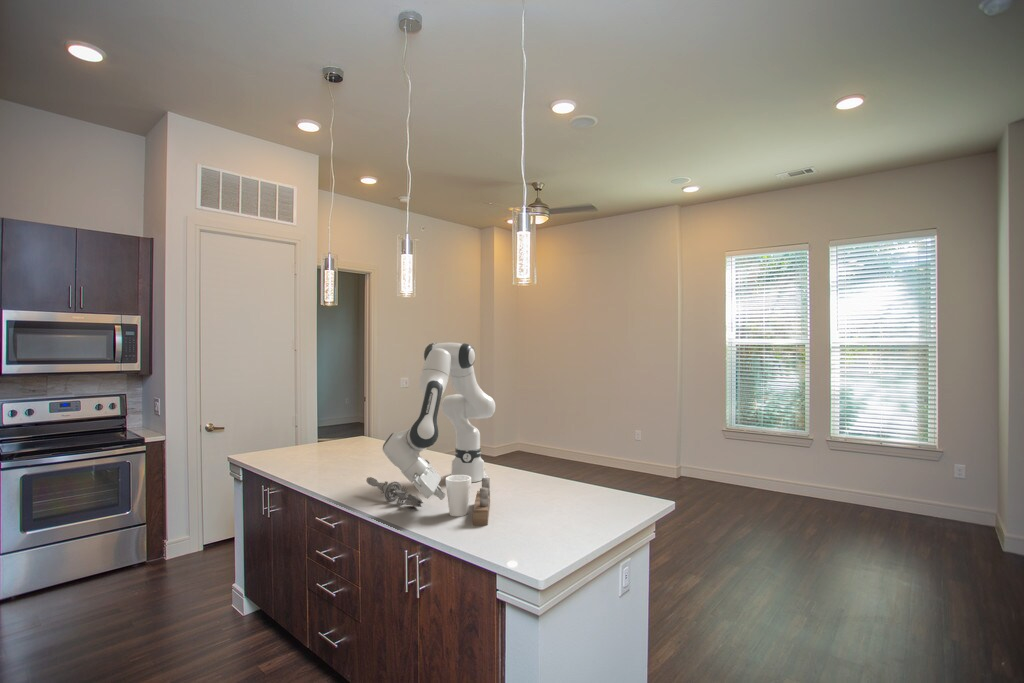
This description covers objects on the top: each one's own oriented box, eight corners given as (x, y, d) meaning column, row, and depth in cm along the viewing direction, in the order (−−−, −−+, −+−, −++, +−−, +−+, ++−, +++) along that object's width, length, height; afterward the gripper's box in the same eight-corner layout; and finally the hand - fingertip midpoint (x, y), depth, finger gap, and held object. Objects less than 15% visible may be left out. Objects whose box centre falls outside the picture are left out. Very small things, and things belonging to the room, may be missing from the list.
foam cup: (476, 512, 188) (476, 477, 188) (461, 519, 180) (461, 482, 180) (455, 508, 193) (455, 473, 193) (439, 514, 185) (440, 479, 185)
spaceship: (377, 471, 216) (362, 467, 211) (432, 495, 194) (417, 492, 189) (370, 490, 215) (355, 486, 209) (424, 516, 192) (410, 513, 187)
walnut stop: (477, 503, 199) (477, 475, 199) (490, 503, 199) (490, 475, 199) (473, 525, 175) (473, 492, 175) (487, 525, 175) (487, 492, 175)
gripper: (418, 471, 176) (446, 500, 176) (428, 458, 197) (453, 484, 197) (405, 484, 176) (433, 512, 176) (416, 470, 197) (441, 495, 197)
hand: (443, 497), depth 186 cm, fingers closed, pressing on foam cup
